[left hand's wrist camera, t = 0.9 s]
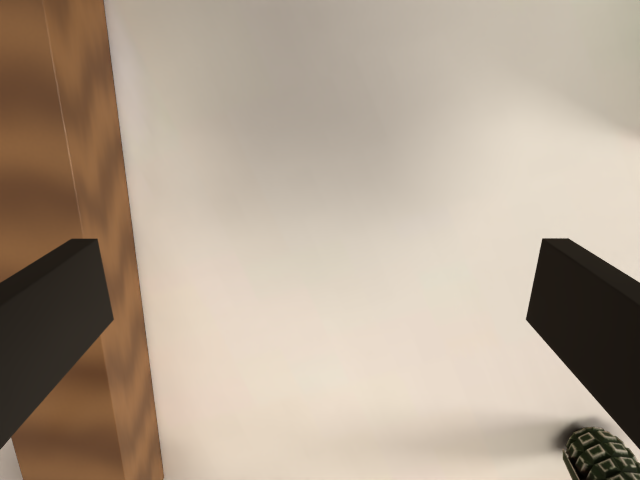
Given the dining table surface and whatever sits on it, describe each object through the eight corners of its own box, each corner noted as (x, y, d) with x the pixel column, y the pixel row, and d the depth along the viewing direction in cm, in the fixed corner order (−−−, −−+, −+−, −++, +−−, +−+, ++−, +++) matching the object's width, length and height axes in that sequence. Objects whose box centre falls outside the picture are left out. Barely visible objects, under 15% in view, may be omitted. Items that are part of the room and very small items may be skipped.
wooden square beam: (-43, -104, 28) (-163, -169, 21) (91, -98, 28) (15, -160, 21) (83, 475, 46) (41, 544, 39) (164, 477, 46) (136, 546, 39)
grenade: (613, 412, 43) (695, 502, 34) (612, 452, 45) (689, 548, 36) (549, 422, 44) (612, 514, 34) (550, 462, 45) (611, 559, 36)
